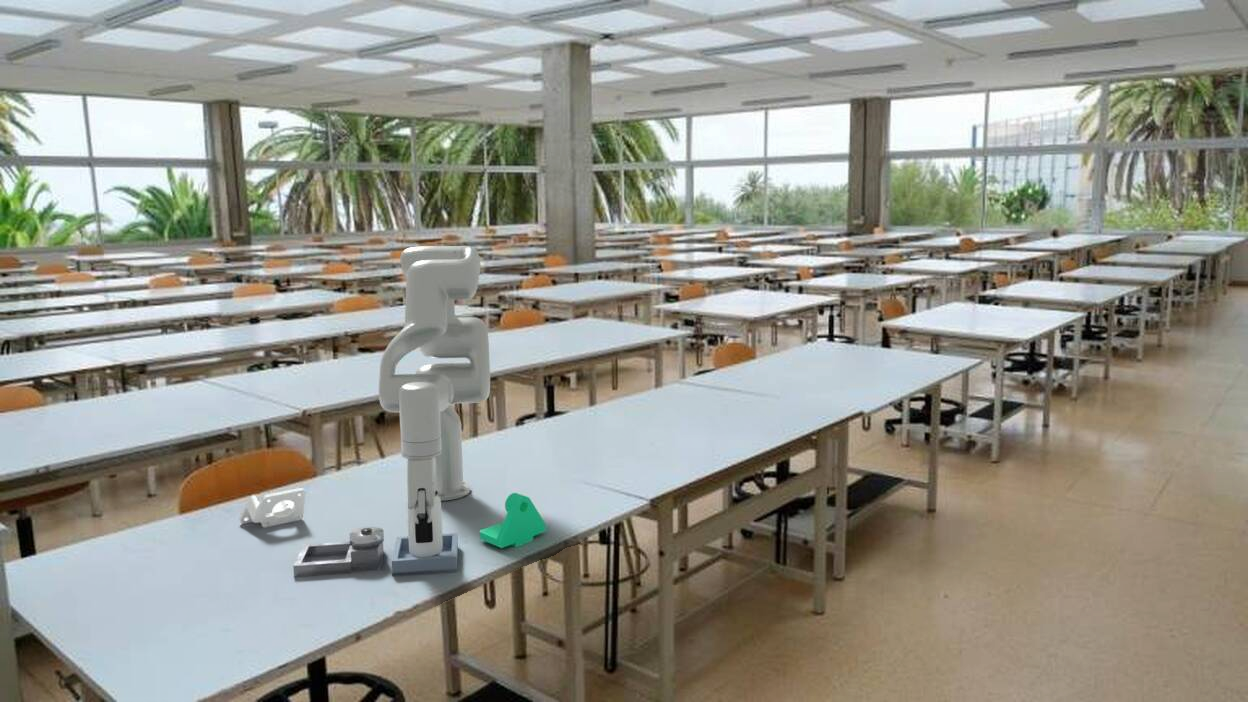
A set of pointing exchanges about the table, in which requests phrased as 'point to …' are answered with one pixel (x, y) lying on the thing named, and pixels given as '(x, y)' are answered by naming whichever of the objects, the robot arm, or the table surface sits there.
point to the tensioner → (360, 554)
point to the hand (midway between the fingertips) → (425, 534)
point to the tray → (425, 558)
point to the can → (436, 519)
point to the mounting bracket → (275, 508)
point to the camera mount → (515, 523)
